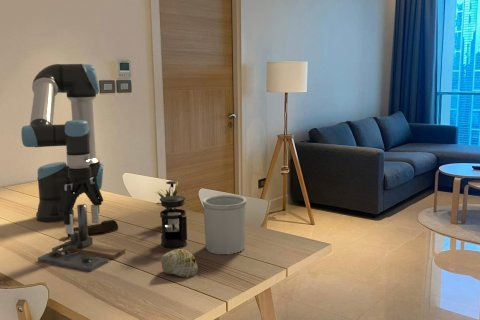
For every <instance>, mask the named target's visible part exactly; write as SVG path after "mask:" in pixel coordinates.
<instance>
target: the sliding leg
mask: <svg viewBox="0 0 480 320" xmlns="http://www.w3.org/2000/svg"><path fill="white" fill-rule="evenodd" d="M76 205H77V204H76ZM76 208H77V209H76V210H77V212H76V213H77V222H78V223H77V224H78V226H77V227H79V240H76V241H75V243H76V244H74V245H72V246H69V247H67V248H65V249H63V248H61V249H60V251H61V255H64V254H65V252H70V251H69V250H72V249H74V248H76V247H79V248H84V247H86V246H89V245H91V244H94V242H93V237H91V236H89V234H88V226H89V225H88V224H89V223H88V211H87V210H88V209H87V204H84V203H83V204H78V205H77V206H76Z"/></svg>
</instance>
